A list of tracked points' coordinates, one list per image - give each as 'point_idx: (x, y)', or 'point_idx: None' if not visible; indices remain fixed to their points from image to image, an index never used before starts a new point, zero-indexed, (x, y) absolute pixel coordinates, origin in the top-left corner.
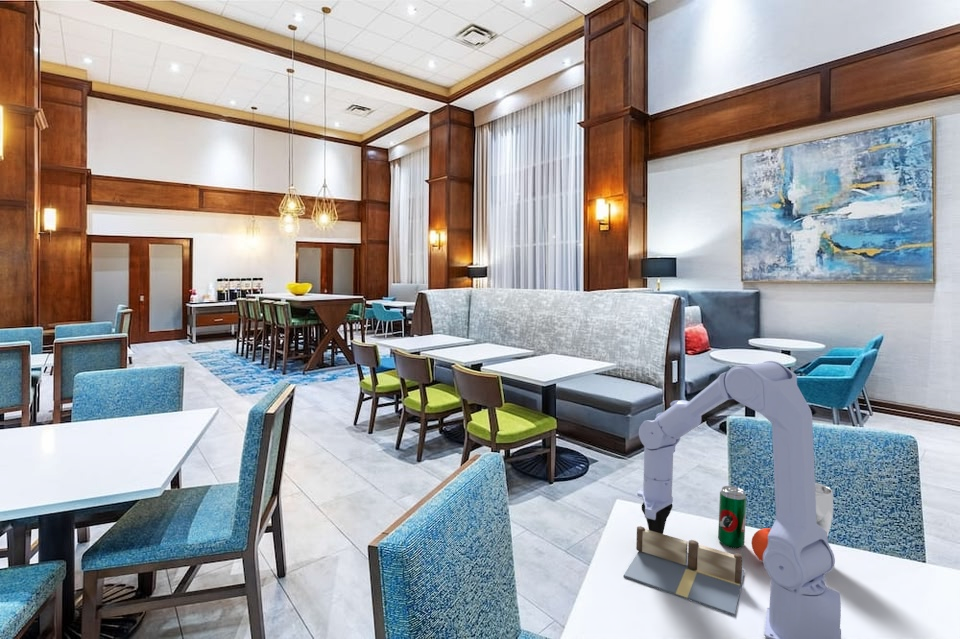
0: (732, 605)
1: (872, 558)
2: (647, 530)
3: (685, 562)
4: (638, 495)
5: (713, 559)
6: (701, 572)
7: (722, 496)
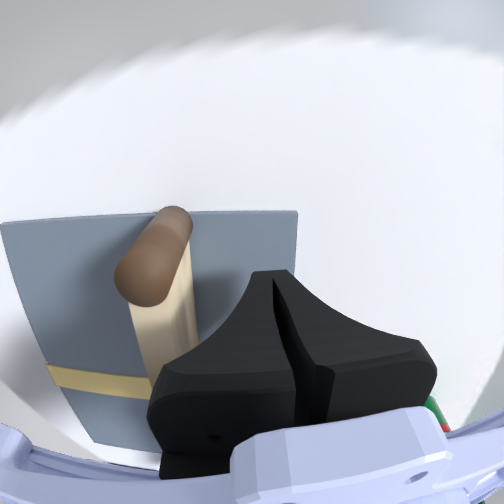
0: (113, 443)
1: None
2: (160, 316)
3: None
4: (234, 466)
5: None
6: None
7: None
